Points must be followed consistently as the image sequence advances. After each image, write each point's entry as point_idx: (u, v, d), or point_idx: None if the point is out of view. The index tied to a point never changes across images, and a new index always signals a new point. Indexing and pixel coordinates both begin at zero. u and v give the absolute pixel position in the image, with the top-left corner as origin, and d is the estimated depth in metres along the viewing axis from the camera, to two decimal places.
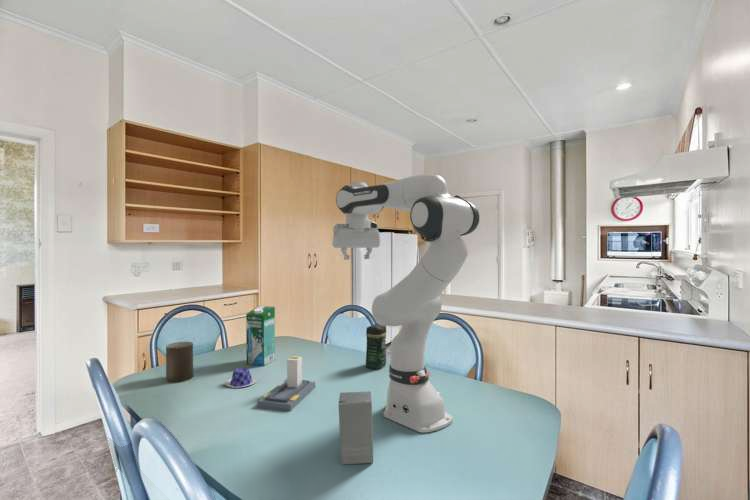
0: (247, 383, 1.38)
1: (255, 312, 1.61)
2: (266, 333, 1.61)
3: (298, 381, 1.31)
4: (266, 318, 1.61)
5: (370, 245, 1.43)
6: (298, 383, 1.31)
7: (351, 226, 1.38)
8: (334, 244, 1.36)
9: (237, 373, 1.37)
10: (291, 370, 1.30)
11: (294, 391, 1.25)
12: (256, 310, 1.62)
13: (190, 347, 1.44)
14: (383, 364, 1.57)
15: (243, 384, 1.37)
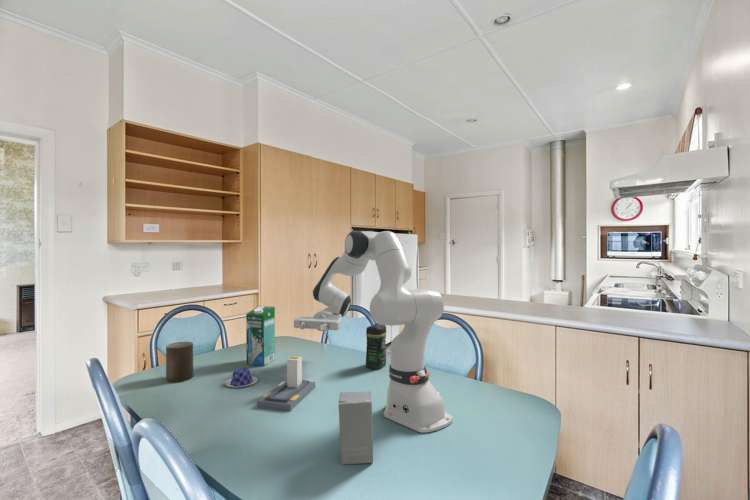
0: (247, 383, 1.38)
1: (255, 312, 1.61)
2: (266, 333, 1.61)
3: (298, 381, 1.31)
4: (266, 318, 1.61)
5: (327, 321, 1.50)
6: (298, 383, 1.31)
7: None
8: None
9: (237, 373, 1.37)
10: (291, 370, 1.30)
11: (294, 391, 1.25)
12: (256, 310, 1.62)
13: (190, 347, 1.44)
14: (383, 364, 1.57)
15: (243, 384, 1.37)
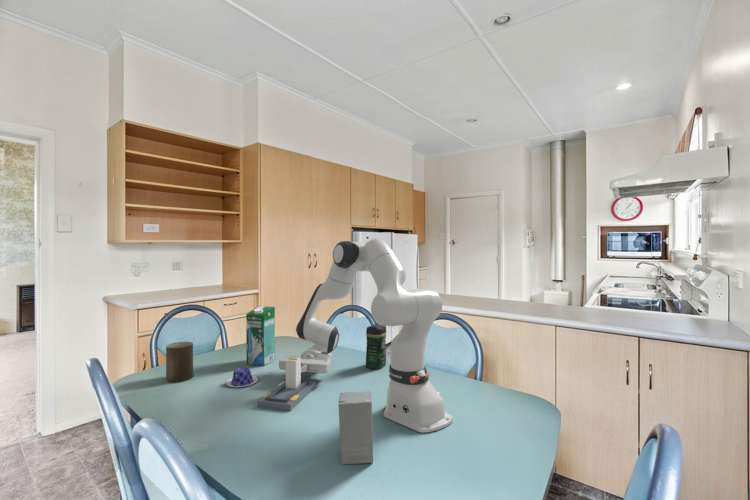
0: (247, 383, 1.38)
1: (255, 312, 1.61)
2: (266, 333, 1.61)
3: (297, 382, 1.30)
4: (266, 318, 1.61)
5: (315, 362, 1.37)
6: (297, 384, 1.30)
7: None
8: None
9: (237, 373, 1.38)
10: (290, 372, 1.29)
11: (294, 391, 1.25)
12: (256, 310, 1.62)
13: (190, 347, 1.44)
14: (383, 364, 1.57)
15: (243, 384, 1.37)
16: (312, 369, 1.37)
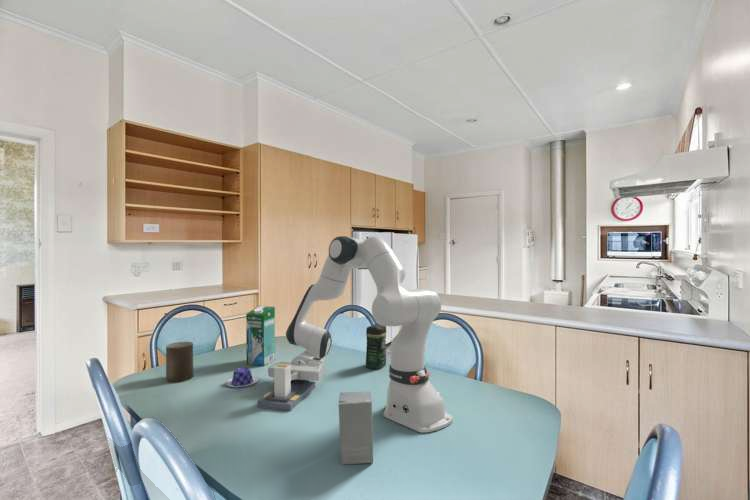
0: (247, 383, 1.38)
1: (255, 312, 1.61)
2: (266, 333, 1.61)
3: (286, 391, 1.22)
4: (266, 318, 1.61)
5: (306, 369, 1.29)
6: (286, 393, 1.22)
7: None
8: None
9: (237, 373, 1.38)
10: (279, 380, 1.21)
11: (294, 391, 1.25)
12: (256, 310, 1.62)
13: (190, 347, 1.44)
14: (383, 364, 1.57)
15: (243, 384, 1.37)
16: (303, 376, 1.29)
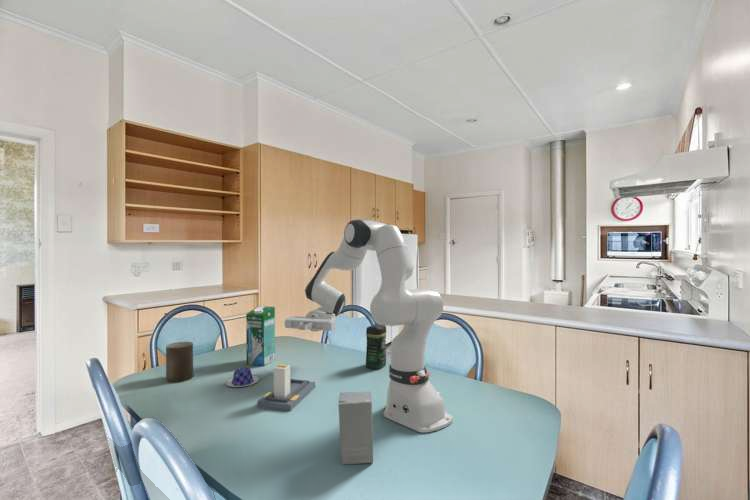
0: (247, 383, 1.38)
1: (255, 312, 1.61)
2: (266, 333, 1.61)
3: (286, 391, 1.22)
4: (266, 318, 1.61)
5: (320, 320, 1.42)
6: (286, 393, 1.22)
7: None
8: None
9: (237, 372, 1.38)
10: (278, 380, 1.21)
11: (294, 391, 1.25)
12: (256, 310, 1.62)
13: (190, 347, 1.44)
14: (383, 364, 1.57)
15: (243, 384, 1.37)
16: (317, 327, 1.42)
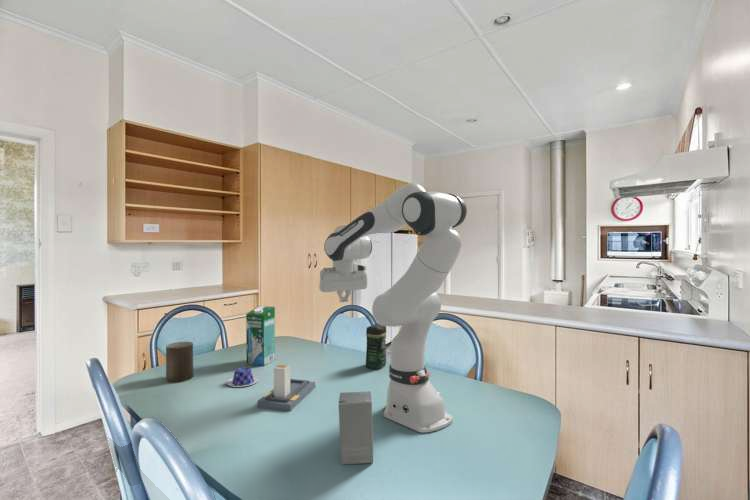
0: (247, 383, 1.38)
1: (255, 312, 1.61)
2: (266, 333, 1.61)
3: (286, 391, 1.22)
4: (266, 318, 1.61)
5: (357, 287, 1.44)
6: (286, 393, 1.22)
7: (338, 270, 1.38)
8: (321, 288, 1.36)
9: (238, 372, 1.38)
10: (278, 380, 1.21)
11: (294, 391, 1.25)
12: (256, 310, 1.62)
13: (190, 347, 1.44)
14: (383, 364, 1.57)
15: (243, 384, 1.37)
16: None
